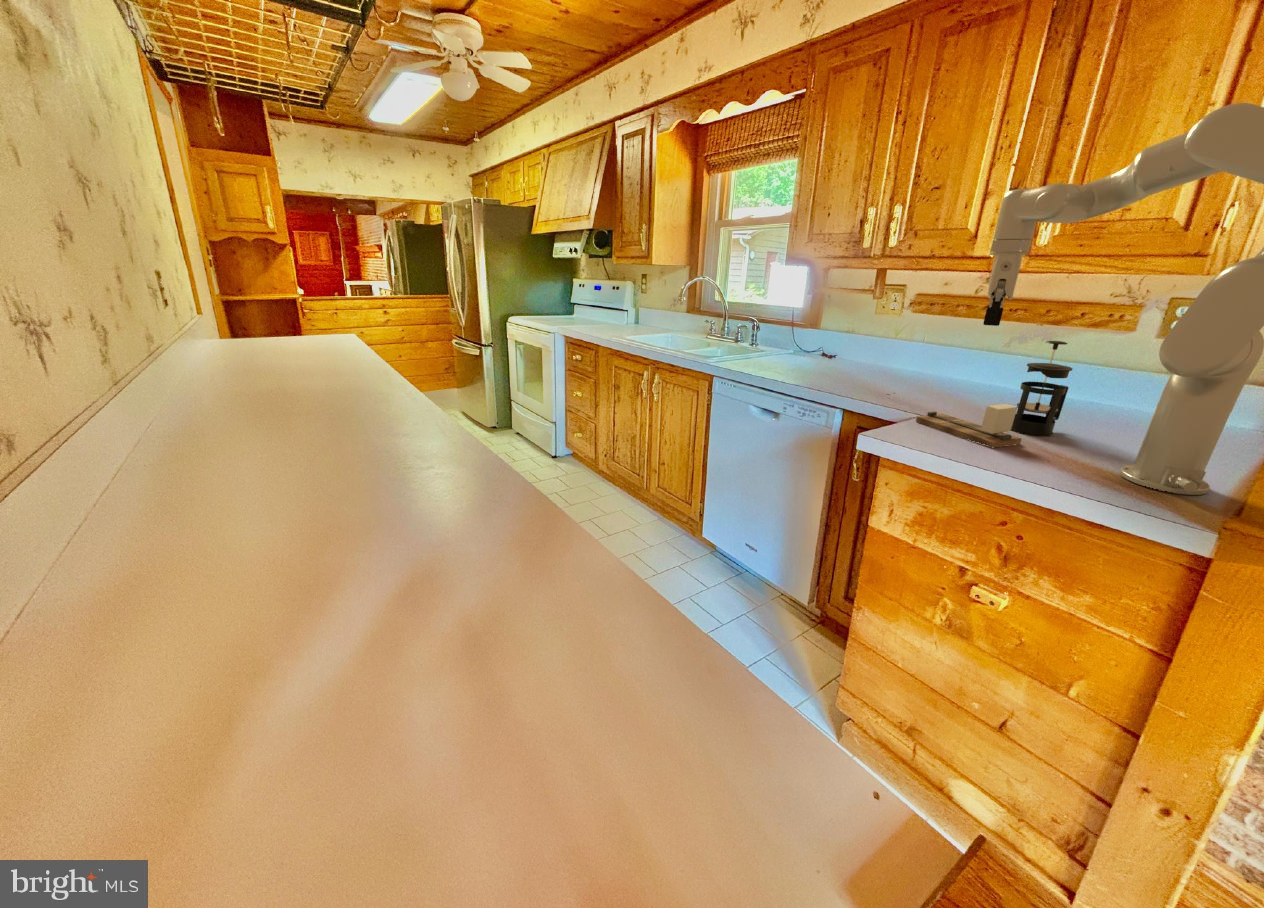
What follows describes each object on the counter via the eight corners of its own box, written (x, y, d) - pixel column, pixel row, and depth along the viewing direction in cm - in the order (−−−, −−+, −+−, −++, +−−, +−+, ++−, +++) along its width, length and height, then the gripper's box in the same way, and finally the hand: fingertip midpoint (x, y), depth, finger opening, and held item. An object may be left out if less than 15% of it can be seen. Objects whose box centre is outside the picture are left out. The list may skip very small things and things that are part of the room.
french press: (1026, 437, 126) (1054, 344, 117) (996, 425, 134) (1020, 338, 126) (1068, 435, 127) (1099, 343, 119) (1036, 424, 136) (1062, 337, 127)
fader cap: (1009, 434, 122) (1017, 407, 119) (991, 436, 120) (999, 409, 117) (997, 430, 124) (1005, 403, 122) (979, 433, 122) (986, 406, 120)
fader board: (1019, 444, 121) (1022, 434, 120) (992, 448, 118) (995, 438, 117) (940, 418, 140) (942, 410, 139) (915, 421, 138) (917, 413, 137)
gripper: (1032, 247, 109) (1010, 328, 115) (1028, 248, 122) (1008, 321, 129) (990, 248, 113) (971, 325, 119) (991, 249, 126) (974, 319, 133)
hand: (991, 323), depth 124 cm, fingers open, 9 cm apart
